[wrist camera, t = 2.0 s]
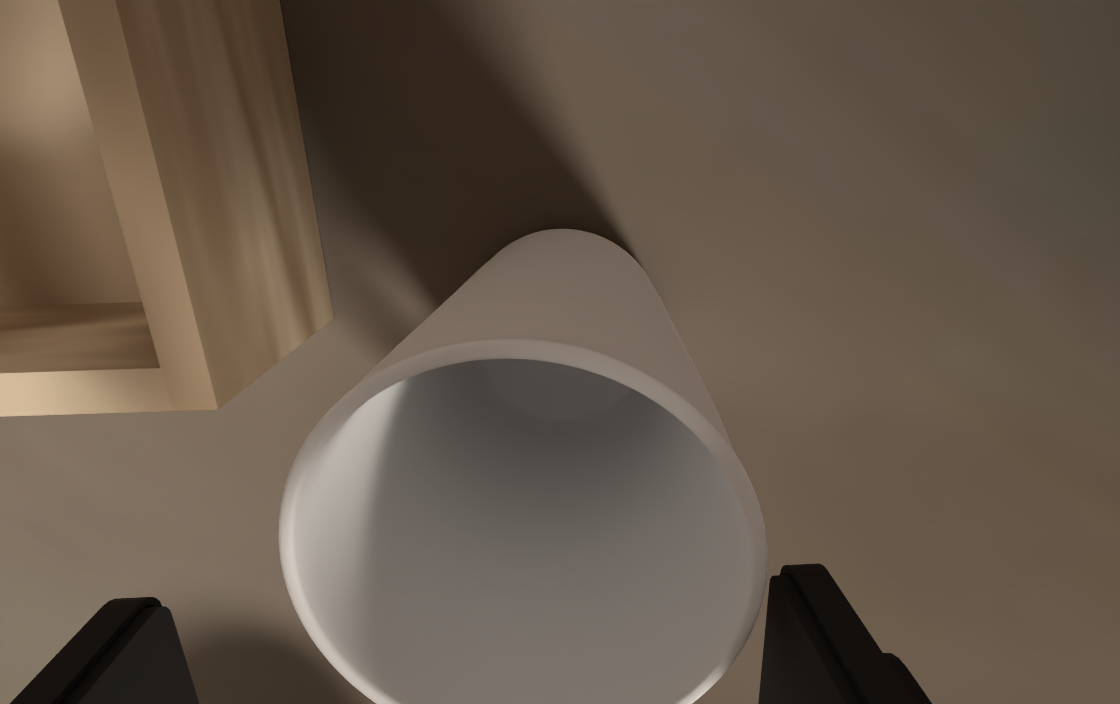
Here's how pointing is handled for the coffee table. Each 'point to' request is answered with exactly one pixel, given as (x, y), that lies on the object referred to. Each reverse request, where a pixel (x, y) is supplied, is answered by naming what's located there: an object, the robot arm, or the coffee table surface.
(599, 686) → the mug
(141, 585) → the coffee table surface
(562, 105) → the coffee table surface
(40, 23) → the open wooden crate
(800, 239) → the coffee table surface
